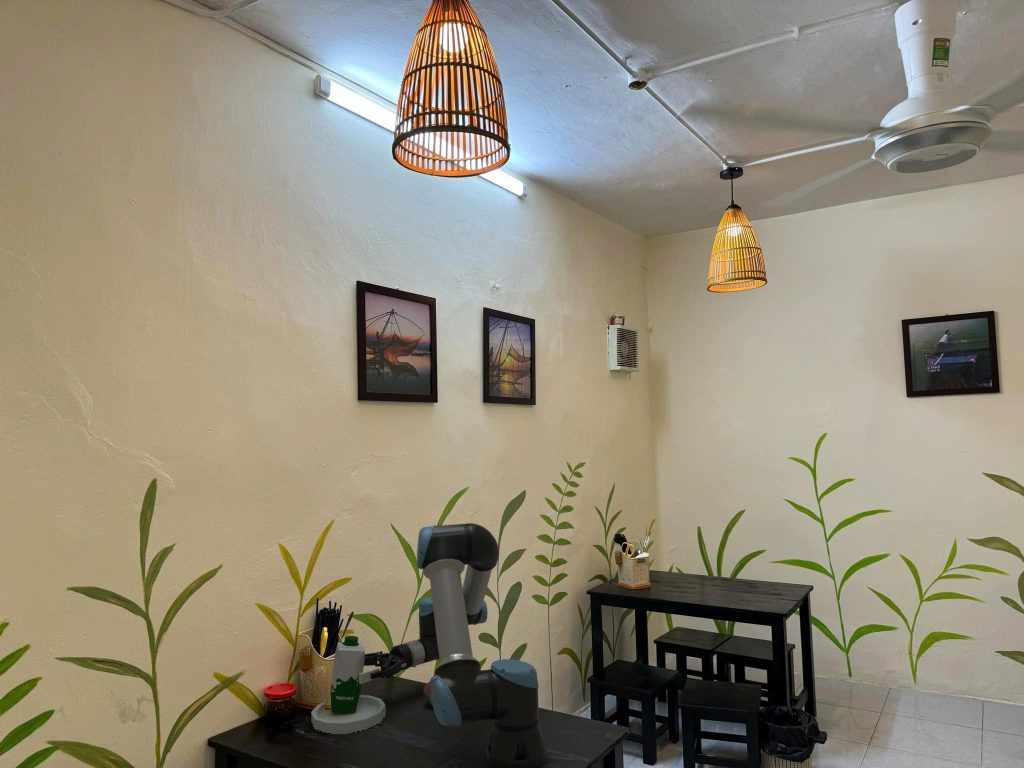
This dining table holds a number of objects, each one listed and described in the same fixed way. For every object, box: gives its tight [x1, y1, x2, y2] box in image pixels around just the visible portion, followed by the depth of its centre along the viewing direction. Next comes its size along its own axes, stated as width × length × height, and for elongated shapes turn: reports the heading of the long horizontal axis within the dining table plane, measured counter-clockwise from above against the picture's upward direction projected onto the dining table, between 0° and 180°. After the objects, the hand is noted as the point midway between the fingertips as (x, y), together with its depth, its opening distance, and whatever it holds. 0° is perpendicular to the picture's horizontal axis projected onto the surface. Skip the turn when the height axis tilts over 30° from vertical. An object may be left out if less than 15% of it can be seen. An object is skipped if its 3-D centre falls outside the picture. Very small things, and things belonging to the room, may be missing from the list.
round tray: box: [310, 694, 387, 735], centre depth 207 cm, size 20×20×3 cm
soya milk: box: [329, 635, 366, 713], centre depth 211 cm, size 9×9×20 cm
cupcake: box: [423, 680, 433, 707], centre depth 216 cm, size 9×8×12 cm
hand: (346, 673), depth 207 cm, fingers open, 13 cm apart
